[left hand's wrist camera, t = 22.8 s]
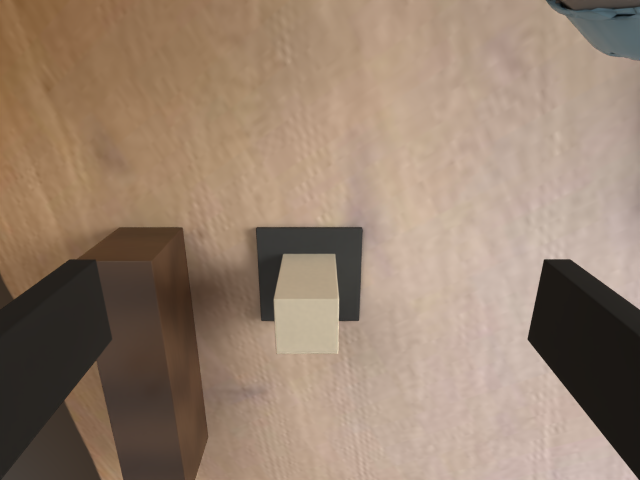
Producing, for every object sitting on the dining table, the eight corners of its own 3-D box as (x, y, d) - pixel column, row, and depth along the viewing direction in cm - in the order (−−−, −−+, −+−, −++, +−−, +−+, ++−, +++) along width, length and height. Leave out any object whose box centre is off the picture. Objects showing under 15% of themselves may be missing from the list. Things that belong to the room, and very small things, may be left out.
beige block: (283, 253, 40) (273, 299, 32) (335, 253, 40) (339, 299, 32) (284, 299, 42) (276, 354, 34) (334, 299, 42) (338, 354, 34)
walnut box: (119, 227, 40) (73, 261, 33) (182, 227, 40) (151, 261, 33) (157, 437, 49) (128, 501, 42) (208, 437, 49) (188, 501, 42)
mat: (256, 227, 40) (256, 228, 40) (362, 227, 40) (362, 228, 40) (262, 318, 44) (261, 321, 43) (358, 318, 44) (359, 321, 43)
